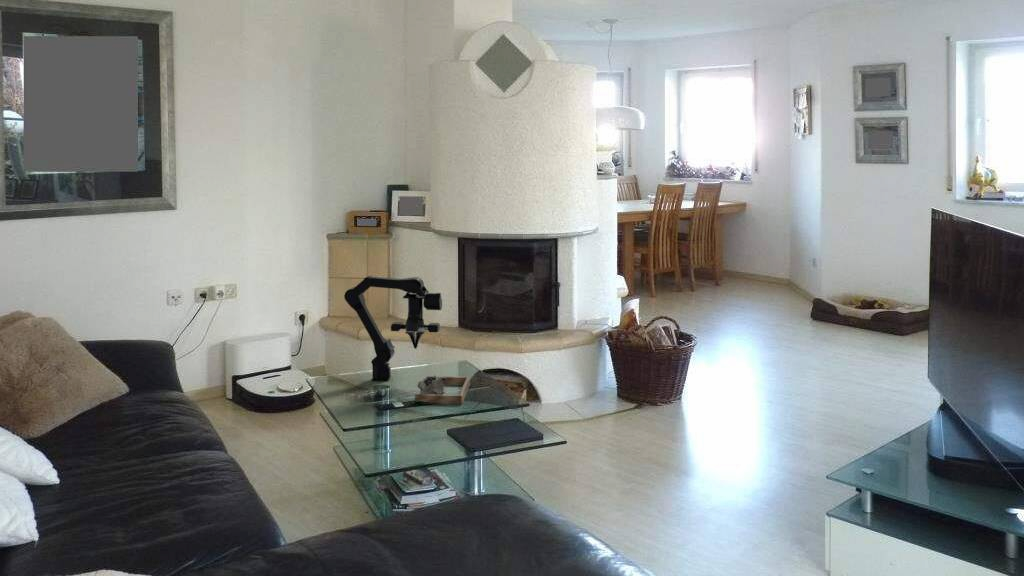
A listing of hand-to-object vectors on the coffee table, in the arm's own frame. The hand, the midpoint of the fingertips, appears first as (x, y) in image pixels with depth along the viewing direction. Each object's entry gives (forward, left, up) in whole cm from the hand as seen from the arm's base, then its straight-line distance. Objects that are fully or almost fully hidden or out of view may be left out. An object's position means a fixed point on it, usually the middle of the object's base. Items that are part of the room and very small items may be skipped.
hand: (415, 348), depth 367 cm
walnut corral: (+13, -18, -13) cm, 26 cm away
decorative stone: (+7, -23, -9) cm, 26 cm away
